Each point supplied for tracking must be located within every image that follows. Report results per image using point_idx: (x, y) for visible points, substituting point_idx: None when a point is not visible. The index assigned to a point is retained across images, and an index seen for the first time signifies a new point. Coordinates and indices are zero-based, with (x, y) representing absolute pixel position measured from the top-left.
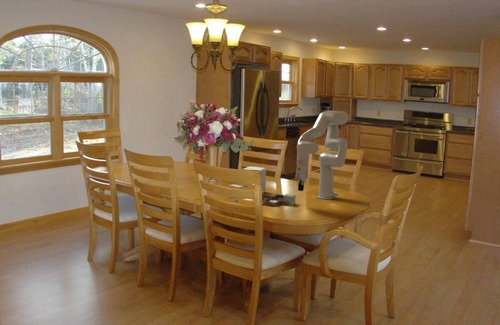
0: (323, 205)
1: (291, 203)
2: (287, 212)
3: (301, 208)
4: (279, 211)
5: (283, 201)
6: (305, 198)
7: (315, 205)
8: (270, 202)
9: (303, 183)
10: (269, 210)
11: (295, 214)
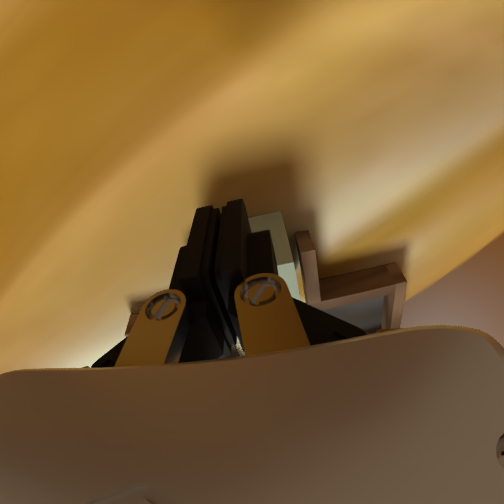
0: (39, 43)
1: (283, 221)
2: (484, 119)
3: (306, 88)
4: (485, 175)
5: (318, 280)
6: (22, 276)
7: (91, 77)
8: (401, 309)
9: (185, 307)
10: (486, 232)
11: (494, 48)
